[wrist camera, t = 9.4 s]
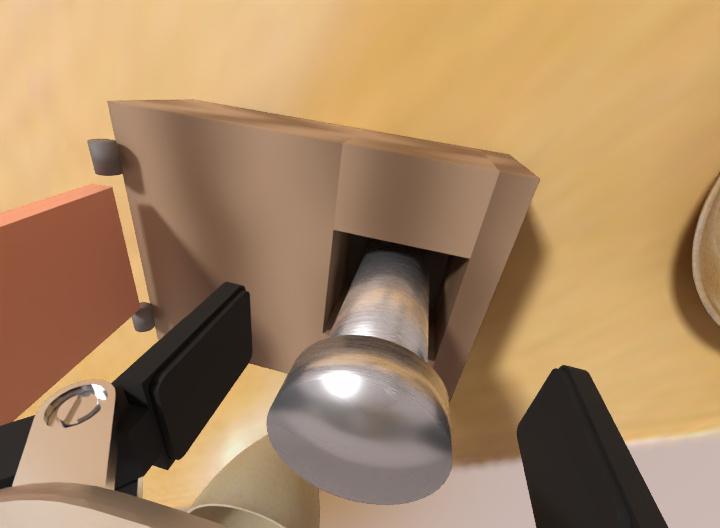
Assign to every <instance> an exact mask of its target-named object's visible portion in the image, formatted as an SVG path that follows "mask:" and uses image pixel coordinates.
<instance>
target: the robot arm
mask: <svg viewBox="0 0 720 528" xmlns="http://www.w3.org/2000/svg"><path fill="white" fill-rule="evenodd" d="M252 352H253V349H252V328H251V307H250V293H249V292H248V291H246V288H245V287H244V286H243V285H239V284H235V283H231V282H224V283H223V284H222V285H221V286H220V287H218V288H217V289H216V290H215V291H214V292H213V293H212V294H211V295H210V296H208V297H207V298H206V299H205V300H204V301H203V302H202V303H201V304H200V305H199V306H197V307H196V308H195V309H194V310H193V311H192V312H191V313H190V314H189V315H187V316H186V317H185V318H184V319H182V320H181V321H180V322H179V323H178V324H177V325H176V326H174V327H173V328H172V329H171V330H170V331H169V332H168V333H167V334H166V335H164V336H163V337H162V338H161V339H160V340H159V341H158V342H157V343H156V344H154V345H153V346H152V347H151V348H150V349H149V350H148V351H147V352H146V353H144V354H143V355H142V356H141V357H140V358H139V359H138V360H137V361H136V362H134V363H133V364H132V365H131V366H130V367H129V368H128V369H127V370H126V371H125V372H123V373H122V374H121V375H120V376H119V377H118V378H117V379H116V380H115V381H113V382H112V383H109V382H107V381H105V380H98V379H91V380H84V381H80V382H77V383H74V384H71V385H69V386H67V387H65V388H63V389H61V390H59V391H57V392H56V393H54V394H53V395H52V396H50V397H49V398H48V399H47V400H46V401H45V402H44V403H43V404H42V405H41V406H40V407H39V409H38V411H37V413H36V415H34V416H31V417H27V418H24V419H21V420H18V421H14V422H11V423H8V424H5V425H1V426H0V528H230V527H227V526H224V525H221V524H218V523H216V522H213V521H210V520H207V519H204V518H201V517H198V516H195V515H192V514H189V513H186V512H183V511H180V510H177V509H174V508H171V507H167V506H164V505H161V504H158V503H155V502H152V501H149V500H145V499H142V494H143V476H144V475H145V474H146V473H147V471H148V470H149V469H150V467H151V466H152V465H154V466H157V467H160V468H163V469H166V470H168V469H169V468H170V467H171V465H172V464H173V462H174V461H175V460H179V459H181V458H182V457H183V456H184V455H185V454H186V452H187V451H188V450H189V448H190V447H191V445H192V444H193V442H194V441H195V440H196V438H197V437H198V435H199V434H200V432H201V431H202V429H203V428H204V427H205V425H206V424H207V422H208V421H209V419H210V418H211V417H212V415H213V414H214V412H215V411H216V409H217V408H218V406H219V405H220V404H221V402H222V401H223V399H224V398H225V396H226V395H227V394H228V392H229V391H230V389H231V388H232V386H233V385H234V383H235V382H236V381H237V379H238V378H239V376H240V375H241V373H242V372H243V371H244V369H245V368H246V366H247V365H248V363H249V362H250V360H251V357H252ZM517 439H518V444H519V448H520V453H521V458H522V462H523V467H524V472H525V476H526V480H527V486H528V490H529V495H530V499H531V504H532V508H533V513H534V518H535V522H536V527H537V528H668V526H667V524H666V522H665V520H664V518H663V517H662V514H661V513H660V511H659V509H658V507H657V505H656V503H655V501H654V499H653V497H652V495H651V493H650V491H649V489H648V487H647V485H646V483H645V481H644V479H643V477H642V476H641V474H640V472H639V470H638V468H637V466H636V464H635V462H634V460H633V458H632V456H631V454H630V452H629V450H628V448H627V446H626V444H625V442H624V440H623V438H622V436H621V434H620V433H619V431H618V429H617V427H616V425H615V423H614V421H613V419H612V417H611V415H610V413H609V411H608V409H607V407H606V405H605V403H604V401H603V399H602V397H601V395H600V393H599V392H598V390H597V388H596V386H595V384H594V382H593V380H592V378H591V376H590V374H589V373H588V372H587V371H586V370H582V369H578V368H574V367H570V366H566V365H562V366H561V367H560V368H559V369H556V368H555V369H553V370H552V371H551V373H550V375H549V376H548V378H547V379H546V381H545V383H544V384H543V386H542V388H541V389H540V391H539V392H538V394H537V396H536V397H535V399H534V400H533V402H532V404H531V405H530V407H529V408H528V410H527V412H526V413H525V415H524V417H523V418H522V420H521V421H520V423H519V425H518V428H517Z"/></svg>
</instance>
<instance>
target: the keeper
mask: <svg viewBox="0 0 720 528" xmlns="http://www.w3.org/2000/svg"><path fill="white" fill-rule="evenodd" d="M139 309H141V308H140V304H139V300H138V296H137V291H136V287H135V283H134V278H133V274H132V270H131V266H130V261H129V257H128V253H127V248H126V244H125V240H124V236H123V231H122V227H121V223H120V218H119V214H118V210H117V206H116V201H115V197H114V193H113V188H112V187H109V186H102V185H96V184H90V185H87V186H84V187H81V188H78V189H75V190H72V191H69V192H65V193H62V194H59V195H56V196H53V197H50V198H47V199H44V200H41V201H37V202H34V203H31V204H28V205H25V206H22V207H19V208H16V209H12V210H9V211H6V212H3V213H0V426H1V425H5V424H8V423H11V422H13V421H14V420H15V419H16V418H17V417H18V416H20V415H21V414H22V413H23V412H24V411H25V410H26V409H27V408H29V407H30V406H31V405H32V404H33V403H34V402H35V401H37V400H38V399H39V398H40V397H41V396H42V395H43V394H44V393H46V392H47V391H48V390H49V389H50V388H51V387H52V386H53V385H55V384H56V383H57V382H58V381H59V380H60V379H61V378H63V377H64V376H65V375H66V374H67V373H68V372H69V371H70V370H72V369H73V368H74V367H75V366H76V365H77V364H78V363H79V362H81V361H82V360H83V359H84V358H85V357H86V356H87V355H89V354H90V353H91V352H92V351H93V350H94V349H95V348H96V347H98V346H99V345H100V344H101V343H102V342H103V341H104V340H105V339H107V338H108V337H109V336H110V335H111V334H112V333H113V332H115V331H116V330H117V329H118V328H119V327H120V326H121V325H122V324H124V323H125V322H126V321H127V320H128V319H129V318H130V317H131V316H133V315H134V314H135V313H136V312H137V311H138V310H139Z"/></svg>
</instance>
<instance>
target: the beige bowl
mask: <svg viewBox="0 0 720 528" xmlns="http://www.w3.org/2000/svg"><path fill="white" fill-rule="evenodd" d="M319 507H320V506H319V491H318V487H316V486H314V485H312V484H311V483H309V482H307V481H306V480H304V479H303V478H301V477H300V476H299V475H297V474H296V473H295V472H294V471H292V470H291V469H290V468H289V467H288V466H287V465H286V464H285V463H284V462H283V461H282V459H281V458H280V457H279V456H278V454H277V453H276V451H275V449H274V448H273V446H272V444H271V441H270V439H269V436H268V435H267V436H265V437H263V438H262V439H260V440H258V441H257V442H255V443H254V444H252V445H251V446H249V447H248V448H246V449H245V450H244V451H242V452H241V453H240V454H239V455H237V456H236V457H235V458H234V459H233V460H232V461H230V462H229V463H228V464H227V465H226V466H225V467H224V468H223V469H222V470H221V471H220V472H219V473H218V474H217V475H216V476H215V477H214V478H213V480H212V481H211V482H210V483H209V484H208V485H207V487H206V488H205V489H204V490H203V491H202V493H201V494H200V495H199V496H198V498H197V499H196V500H195V501H194V503H193V504H192V506H191V507H190V508H189V510H188V511H187V513H189V514H192V515H195V516H198V517H201V518H204V519H207V520H210V521H213V522H216V523H218V524H221V525H224V526H227V527H230V528H319V518H320V508H319Z"/></svg>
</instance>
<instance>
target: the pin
mask: <svg viewBox="0 0 720 528" xmlns="http://www.w3.org/2000/svg"><path fill="white" fill-rule="evenodd" d="M429 279H430V250H427V249H422V248H417V247H412V246H408V245H403V244H398V243H393V242H389V241H384V240H379V239H374V238H372V239H371V241H370V243H369V246H368V248H367V250H366V252H365V255H364V257H363V259H362V262H361V264H360V266H359V268H358V271H357V273H356V275H355V277H354V280H353V282H352V284H351V287H350V289H349V291H348V293H347V296H346V298H345V300H344V302H343V305H342V307H341V309H340V311H339V314H338V316H337V318H336V321H335V323H334V325H333V327H332V330H331V332H330V334H329V336H328V338H326V339H323V340H321V341H318V342H316V343H314V344H312V345H311V346H309V347H307V348H306V349H305V350H304V351H303V352H302V353H301V354H300V355H299V356H298V357H297V359H296V360H295V362H294V364H293V366H292V368H291V370H290V371H289V373H288V375H287V377H286V379H285V381H284V383H283V385H282V387H281V389H280V390H279V392H278V394H277V396H276V398H275V400H274V402H273V404H272V406H271V408H270V409H269V413H268V416H267V432H268V436H269V439H270V441H271V444H272V446H273V448H274V449H275V451H276V453H277V454H278V456H279V457H280V458H281V459H282V461H283V462H284V463H285V464H286V465H287V466H288V467H289V468H290V469H291V470H292V471H294V472H295V473H296V474H297V475H299V476H300V477H301V478H303V479H304V480H306V481H307V482H309V483H311V484H312V485H314V486H316V487H318V488H320V489H322V490H324V491H326V492H328V493H331V494H333V495H336V496H339V497H342V498H345V499H348V500H352V501H357V502H362V503H368V504H377V505H394V504H403V503H409V502H413V501H417V500H419V499H422V498H425V497H427V496H428V495H430V494H432V493H434V492H435V491H436V490H438V489H439V488H440V487H441V486H442V485H443V484H444V482H445V481H446V479H447V478H448V476H449V474H450V471H451V468H452V444H451V425H450V405H449V397H448V393H447V390H446V388H445V386H444V383H443V381H442V380H441V378H440V377H439V375H438V374H437V372H436V371H435V370H434V369H433V368H432V367H431V366H430V365H429V364H428V324H429Z"/></svg>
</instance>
